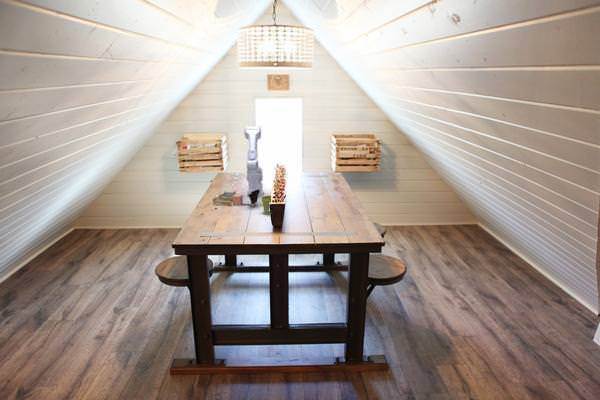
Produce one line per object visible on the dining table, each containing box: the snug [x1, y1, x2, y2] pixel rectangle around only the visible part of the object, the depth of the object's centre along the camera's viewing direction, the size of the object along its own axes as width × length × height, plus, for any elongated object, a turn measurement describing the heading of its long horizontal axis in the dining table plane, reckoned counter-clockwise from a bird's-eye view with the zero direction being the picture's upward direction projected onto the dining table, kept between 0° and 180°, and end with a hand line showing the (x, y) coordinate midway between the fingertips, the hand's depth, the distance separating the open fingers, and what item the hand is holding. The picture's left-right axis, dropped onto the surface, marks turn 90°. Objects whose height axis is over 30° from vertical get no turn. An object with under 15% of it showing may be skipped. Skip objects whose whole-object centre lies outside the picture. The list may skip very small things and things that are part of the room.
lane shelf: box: [212, 190, 233, 207], centre depth 272 cm, size 16×11×4 cm
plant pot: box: [260, 194, 271, 215], centre depth 251 cm, size 9×9×9 cm
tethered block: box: [232, 193, 256, 207], centre depth 265 cm, size 4×13×6 cm, turn 75°
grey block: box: [226, 189, 237, 198], centre depth 276 cm, size 4×4×6 cm
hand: (254, 202), depth 264 cm, fingers closed on tethered block, 2 cm apart
